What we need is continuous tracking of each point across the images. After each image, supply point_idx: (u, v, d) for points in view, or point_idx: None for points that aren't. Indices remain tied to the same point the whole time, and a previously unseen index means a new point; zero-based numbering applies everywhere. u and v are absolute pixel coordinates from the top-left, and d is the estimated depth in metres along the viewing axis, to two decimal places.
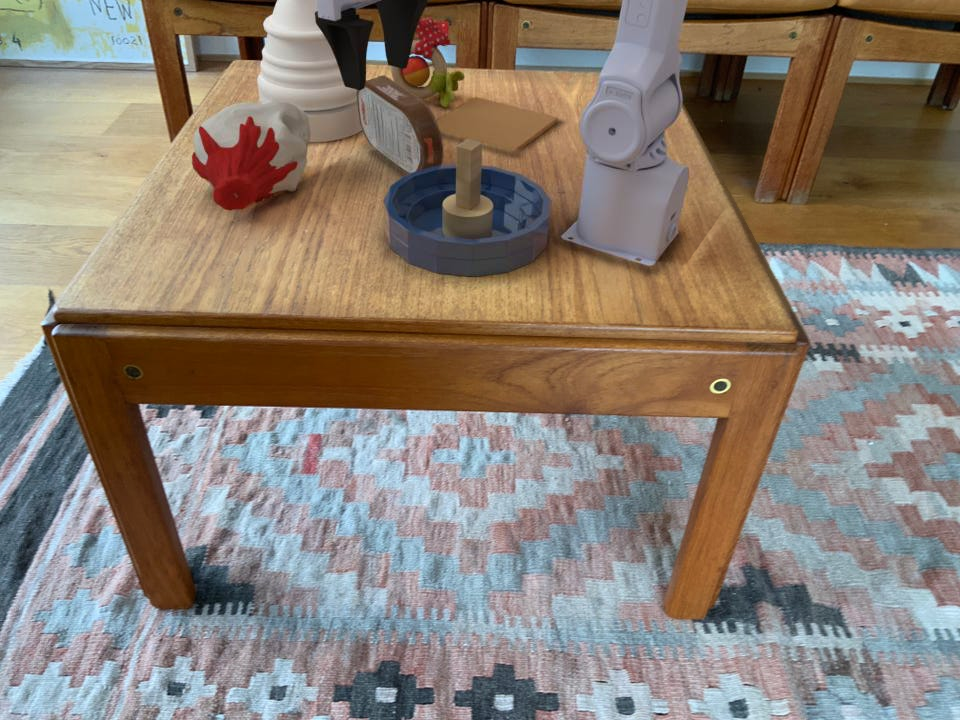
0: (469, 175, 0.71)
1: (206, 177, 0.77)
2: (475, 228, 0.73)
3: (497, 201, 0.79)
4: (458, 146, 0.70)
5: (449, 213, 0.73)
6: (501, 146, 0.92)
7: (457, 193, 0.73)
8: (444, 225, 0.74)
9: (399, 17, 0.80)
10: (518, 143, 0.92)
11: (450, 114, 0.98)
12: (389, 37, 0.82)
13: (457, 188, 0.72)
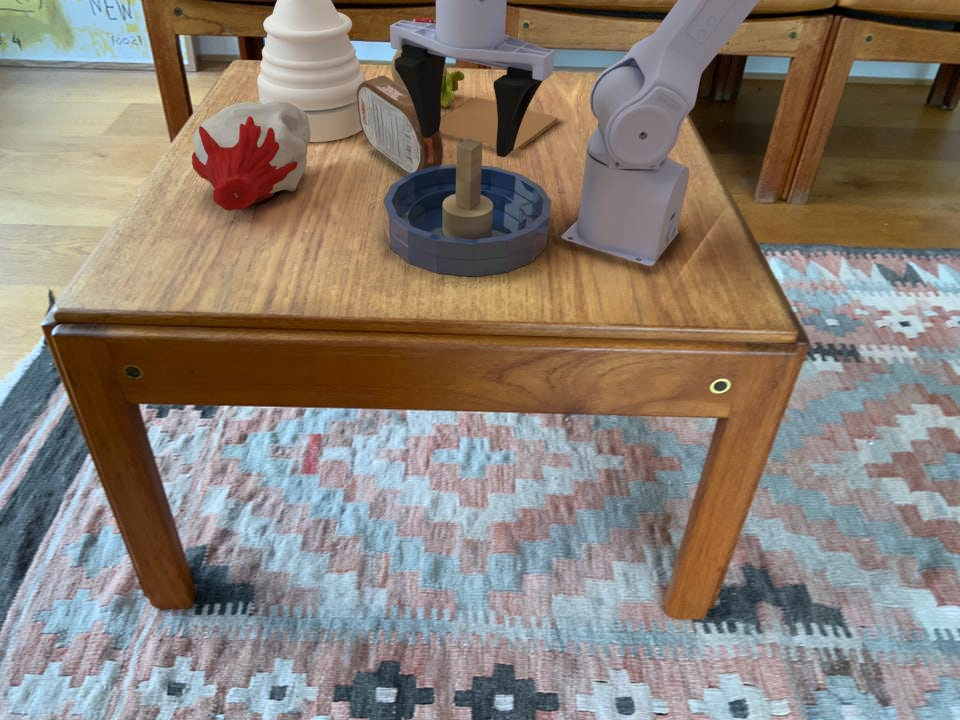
0: (469, 175, 0.71)
1: (206, 177, 0.77)
2: (475, 228, 0.73)
3: (497, 201, 0.79)
4: (458, 146, 0.70)
5: (449, 213, 0.73)
6: None
7: (457, 193, 0.73)
8: (444, 225, 0.74)
9: None
10: (518, 143, 0.92)
11: (450, 114, 0.98)
12: None
13: (457, 188, 0.72)
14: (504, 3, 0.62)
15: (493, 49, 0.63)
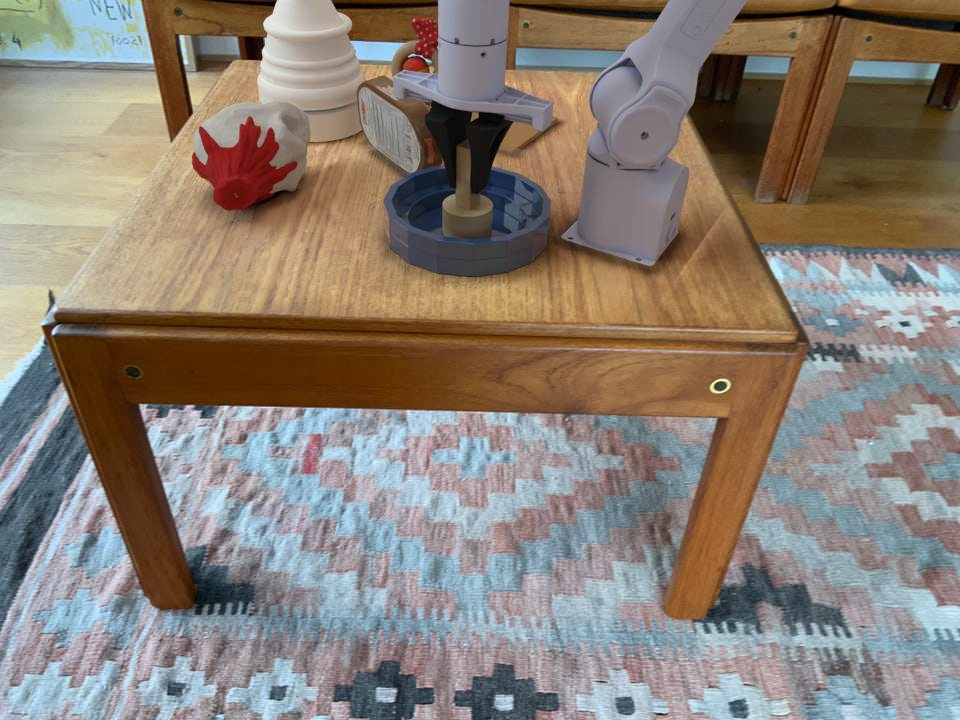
0: (468, 175, 0.71)
1: (206, 177, 0.77)
2: (475, 228, 0.73)
3: (497, 201, 0.79)
4: (458, 146, 0.70)
5: (449, 213, 0.73)
6: (501, 146, 0.92)
7: (457, 193, 0.73)
8: (444, 225, 0.74)
9: None
10: (518, 143, 0.92)
11: None
12: None
13: (457, 188, 0.72)
14: (504, 57, 0.64)
15: (494, 101, 0.65)
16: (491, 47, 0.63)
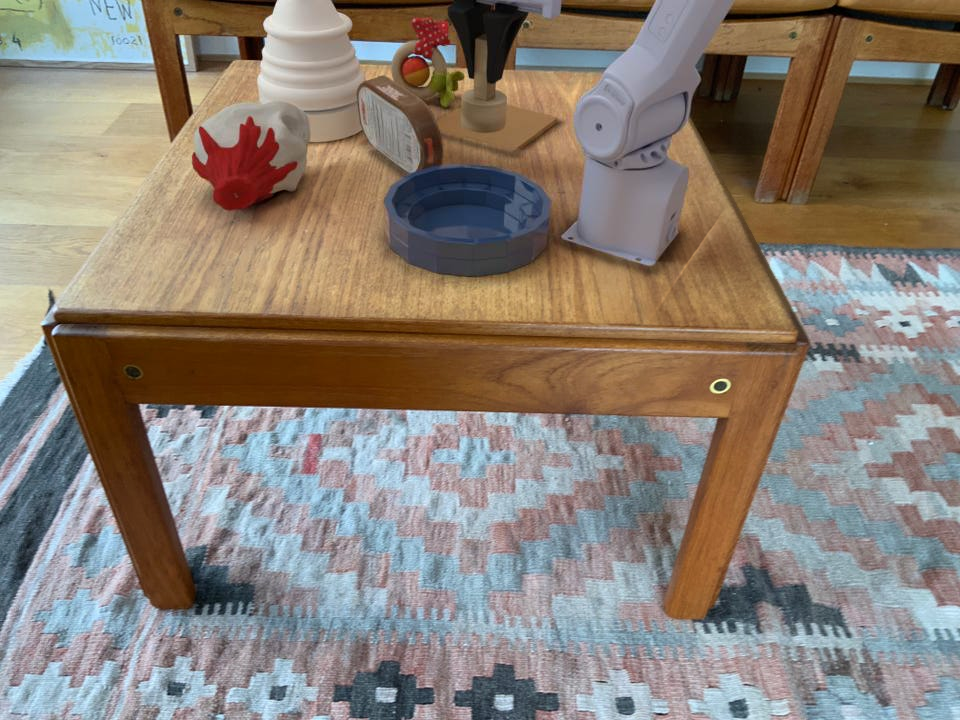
0: (486, 66, 0.79)
1: (206, 177, 0.77)
2: (491, 117, 0.81)
3: (497, 201, 0.79)
4: (476, 39, 0.78)
5: (467, 103, 0.81)
6: (501, 146, 0.92)
7: (475, 85, 0.81)
8: (463, 116, 0.82)
9: None
10: (518, 143, 0.92)
11: (450, 114, 0.98)
12: None
13: (475, 80, 0.80)
14: None
15: None
16: None
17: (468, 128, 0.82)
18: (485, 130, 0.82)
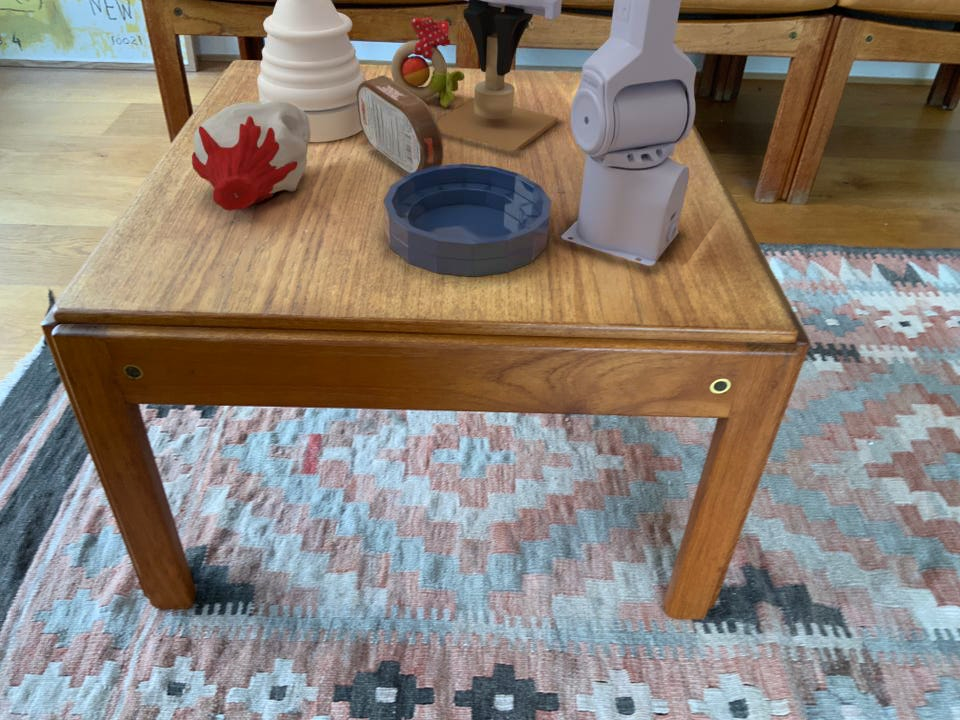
0: (496, 61, 0.91)
1: (206, 177, 0.77)
2: (500, 105, 0.93)
3: (497, 201, 0.79)
4: (488, 37, 0.90)
5: (480, 92, 0.93)
6: (501, 146, 0.92)
7: (486, 77, 0.93)
8: (476, 104, 0.95)
9: None
10: (518, 143, 0.92)
11: (450, 114, 0.98)
12: None
13: (486, 72, 0.93)
14: None
15: None
16: None
17: (480, 115, 0.95)
18: (495, 116, 0.94)
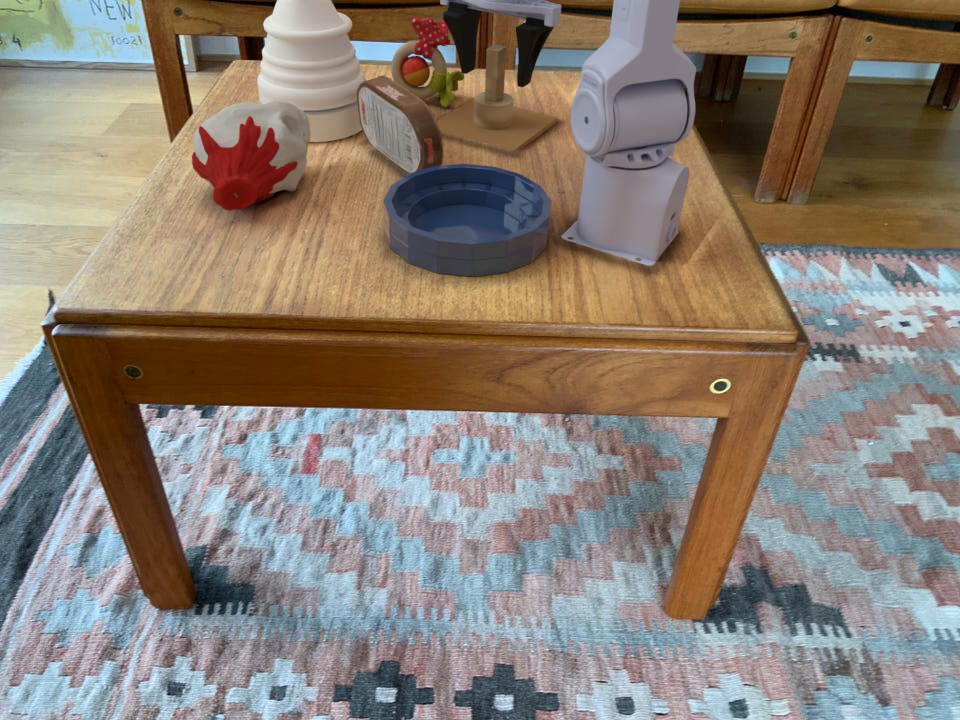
0: (495, 73, 0.92)
1: (206, 177, 0.77)
2: (500, 116, 0.94)
3: (497, 201, 0.79)
4: (488, 49, 0.91)
5: (479, 104, 0.94)
6: (501, 146, 0.92)
7: (486, 88, 0.94)
8: (475, 115, 0.95)
9: None
10: (518, 143, 0.92)
11: (450, 114, 0.98)
12: None
13: (486, 84, 0.93)
14: None
15: (516, 3, 0.86)
16: None
17: (480, 125, 0.95)
18: (495, 127, 0.95)
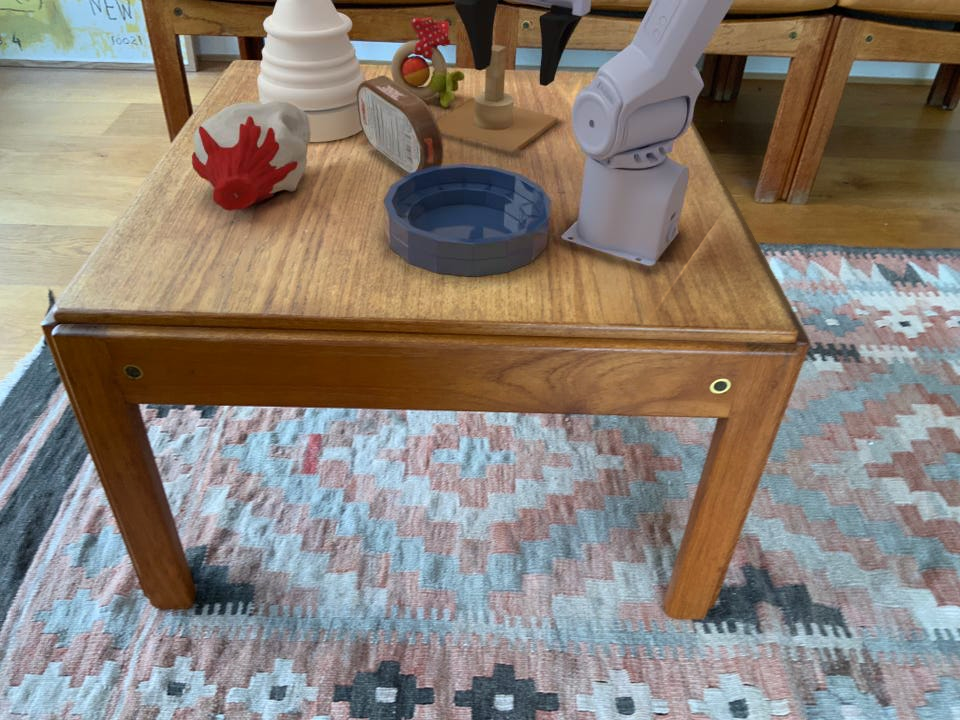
0: (495, 73, 0.92)
1: (206, 177, 0.77)
2: (500, 116, 0.94)
3: (497, 201, 0.79)
4: None
5: (479, 104, 0.94)
6: (501, 146, 0.92)
7: (486, 88, 0.94)
8: (475, 115, 0.95)
9: None
10: (518, 143, 0.92)
11: (450, 114, 0.98)
12: None
13: (486, 84, 0.93)
14: None
15: None
16: None
17: (480, 125, 0.95)
18: (495, 127, 0.95)
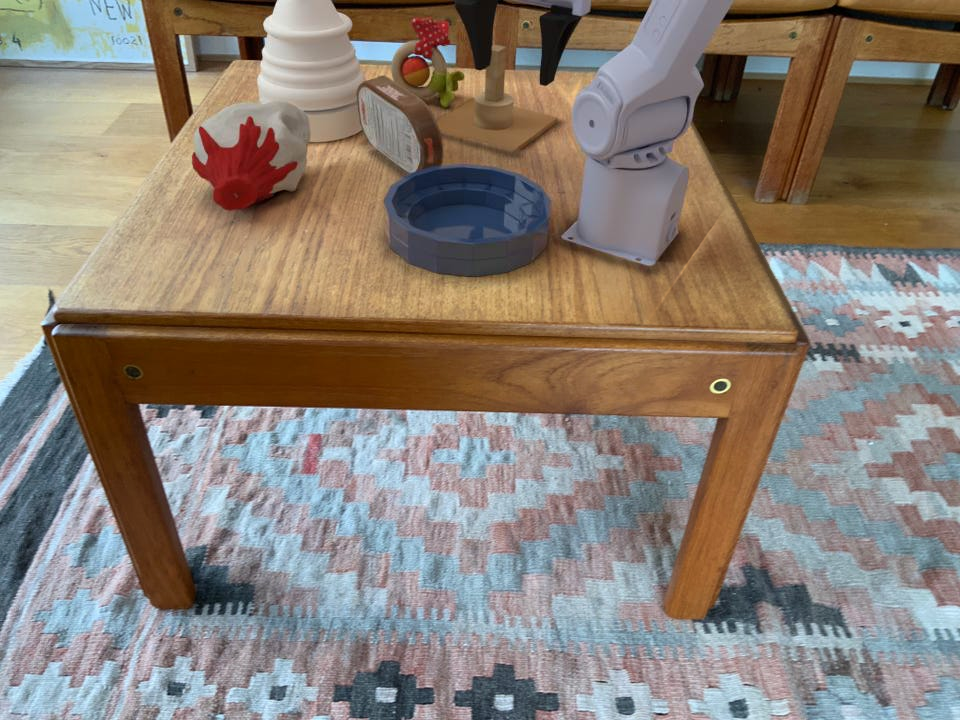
0: (495, 73, 0.92)
1: (206, 177, 0.77)
2: (500, 116, 0.94)
3: (497, 201, 0.79)
4: None
5: (479, 104, 0.94)
6: (501, 146, 0.92)
7: (486, 88, 0.94)
8: (475, 115, 0.95)
9: None
10: (518, 143, 0.92)
11: (450, 114, 0.98)
12: None
13: (486, 84, 0.93)
14: None
15: None
16: None
17: (480, 125, 0.95)
18: (495, 127, 0.95)
